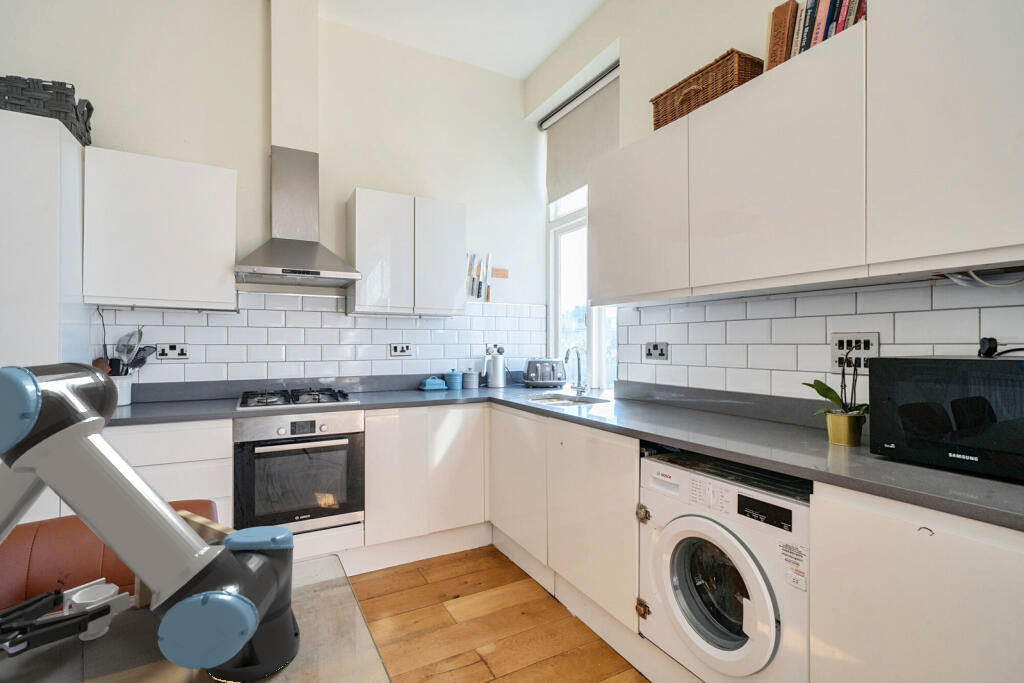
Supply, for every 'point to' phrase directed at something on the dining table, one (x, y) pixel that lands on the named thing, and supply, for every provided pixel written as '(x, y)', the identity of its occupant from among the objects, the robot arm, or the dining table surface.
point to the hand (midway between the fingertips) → (116, 591)
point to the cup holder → (205, 529)
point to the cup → (89, 599)
